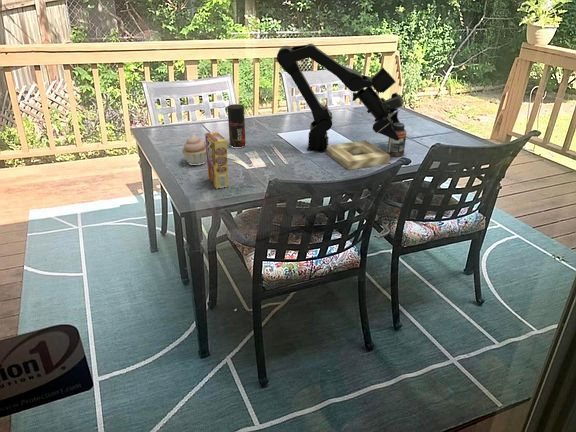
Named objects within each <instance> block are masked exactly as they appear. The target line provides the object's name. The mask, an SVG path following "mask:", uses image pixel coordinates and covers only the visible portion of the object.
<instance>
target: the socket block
mask: <svg viewBox="0 0 576 432" xmlns="http://www.w3.org/2000/svg"><path fill="white" fill-rule="evenodd" d="M326 154H327V155H328V156H329V157H331V158H332V159H333V160H334V161H336V162H337V163H339V164H340V165H341V166H342V167H343V168H345V169H346V170H348V171H350V170H357V169H362V168H368V167H375V166H381V165H386V164H389V163H390V157H391V156H390V155H389V154H388V153H387V151H386V152H385V151H384V150H383V149H381V148H379V147H378V146H376V145H374V144H373V143H371V142H369V141H367V140H359V141H351V142H345V143H339V144H331V145H328V146H327V149H326Z"/></svg>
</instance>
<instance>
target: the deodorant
mask: <svg viewBox="0 0 576 432" xmlns="http://www.w3.org/2000/svg"><path fill="white" fill-rule="evenodd" d="M227 118H228V119H227V122H228V134H229V135H228V138H229V146H230V145H231V146H233V147H242V146H245V144H246V125H245V106H244V104H240V103H237V104H236V103H234V104H229V105H227ZM245 147H246V146H245Z"/></svg>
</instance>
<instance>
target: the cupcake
mask: <svg viewBox="0 0 576 432" xmlns="http://www.w3.org/2000/svg"><path fill="white" fill-rule="evenodd" d="M181 153H182V154H183V155H184V156H183V157H184V158H185V161H186V162H188V163H191V164H199V163H203V162H205V161H206V162H207V154H206V141H204V139H202V138H200V137H198V136H197V135H195V134H192V136H190V137H189V138H187V139H186V142H185V143H184V145H183V148H182V150H181ZM206 162H205V163H206ZM188 163H187V164H188Z"/></svg>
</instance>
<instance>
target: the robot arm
mask: <svg viewBox="0 0 576 432" xmlns="http://www.w3.org/2000/svg"><path fill="white" fill-rule="evenodd" d="M305 59H311V60H313V61H314V62H315V63H317V64H318V65H320V66H321V67H323V68H324V69H325V70H327V71H328V72H330V73H332V75H334V76H336V77H337V78H338V79H339V81H341V83H343V85H344V86H345V87H346V88H347V89H348V90H349V91H350V92H353V93H352V101H353V102H355V101H356V100H357V99H358V100H359V101H360V102H361V104H362V105H363V106H364V107H365V108H366V110H367V111H366V112H367V113H368V114H371V115H372V116H373V117H374V123H373V124H372V130H373V132H375V134H380V135H383V136H385V137H388V138H389V137H390V138H392V139H394V140H396V141H398V140H400V138H399V137H398V135H397V133H396V132H395V130H394V128H393V124H394V123H401V121H400V120H399V116H398V115H399V108H401V107H403V105H404V101H403V97H402V95H401V94H398V93H397V92H394V93H392V94H391V97H390V98H387V99H385V98H384V97H380V96H379V94H384V93H385V92H386V91H387V90H388V89H390V88H391V87H392V86H393V85H394V84H396V83H397V82H396V79H394V77H393V76H392V75H391V74H390V73H389V72H388V71H387V70H386V69H385V68H384V67H381V68H380V69H379V70H378V71H377V72H376V73H375V74H374V75H373V76H372V77H371V76H368V75H362V74H361V72H359V71H356V70H354V69H352V68H350V67H346V66H345V65H343V64H341V63H339V61H337V60H335V59H334V58H333V57H332V56H329V55H328V54H327V53H325V52H324V51H323V50H322V49H319V48H318V47H317V46H316V45H315V44H314V43H307V44H303V45H296V46H290V45H284V46H281V47H280V48H279V50H278V52H277V55H276V61H277V63H278V65H279V66H280V67H281V68H282V69H283V70H284V71H285V72H286V73H287V74H288V75H289V76H290V77H291V80H293V82H294V84H295V86H296V87H297V89H298V91H299V92H300V94H301V96H302V98H303V99H304V101H305V103H306V105H307V106H308V107H309V109H310V111H311V112H310V113H311V114H312V118H313V121H312V122H310V127H309V128H310V130H309V132H308V142H307V144H308V147H306V151H310V152H311V151H312V152H319V153H324V152H325V151H327V146H329V136H328V131H329V130H330V129H332V127H333V113H332V112H331V110H330V109H329V107H328V104H327V103H326V104H325V105H322V103H320V100H319V99H318V97H317V95H316V93H315V92H314V91H313V88H312V87H311V86H310V83H309V82H308V79H307V78H306V77H305V75H304V73H303V71H302V69H301V67H300V64H299V61H302V60H305ZM372 87H373V88H372Z"/></svg>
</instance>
